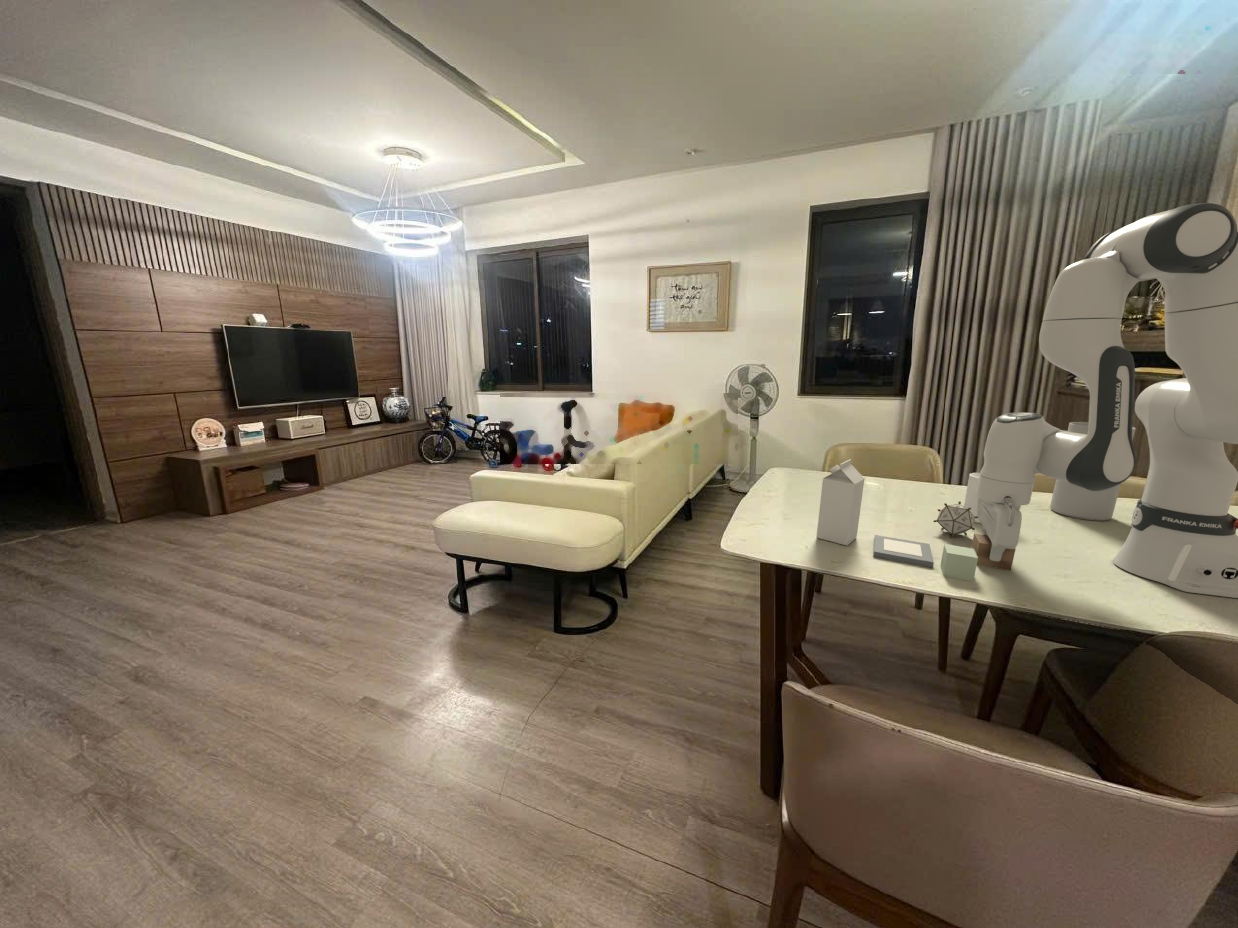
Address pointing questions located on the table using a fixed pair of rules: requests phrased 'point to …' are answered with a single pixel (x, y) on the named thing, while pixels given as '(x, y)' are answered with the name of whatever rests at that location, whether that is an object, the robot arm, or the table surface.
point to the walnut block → (982, 549)
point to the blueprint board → (903, 551)
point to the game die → (956, 519)
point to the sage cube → (959, 562)
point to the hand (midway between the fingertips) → (990, 552)
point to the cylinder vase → (1084, 493)
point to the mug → (972, 495)
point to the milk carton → (840, 504)
